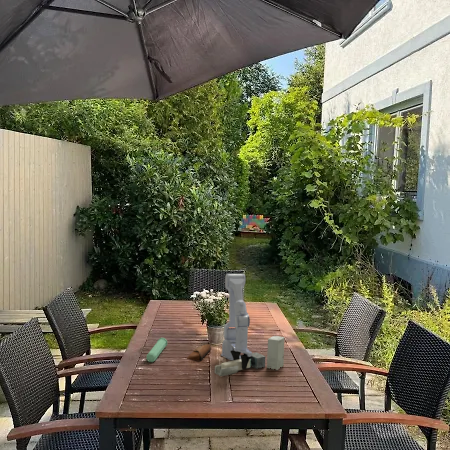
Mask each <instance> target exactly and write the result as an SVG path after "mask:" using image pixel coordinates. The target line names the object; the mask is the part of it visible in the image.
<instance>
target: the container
mask: <svg viewBox="0 0 450 450" xmlns="http://www.w3.org/2000/svg"><path fill="white" fill-rule="evenodd" d="M167 346H168V340H167V339H166V338H165V337H160V338H159V339H157V340H156V343H155V344H154V346H153V347H152V348H151V349H150V351H149V352H148V353H147V354H146V360H147V362H148V363H153V362H154V361H157V358H158V357H159V356H160V355H161V353H162V352H163V351H164V349H165V348H166V347H167Z"/></svg>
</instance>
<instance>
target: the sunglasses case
mask: <svg viewBox="0 0 450 450" xmlns="http://www.w3.org/2000/svg"><path fill="white" fill-rule="evenodd" d="M211 350H212V347H211V345H210V344H208V343H207V344H203V345H200V346H198V347H197V348H194V349H193V351H192V352H191V353H190V354H189V355H188V356H187V357H186V360H192V361H197V362H198V361H200V362H201V361H202V360H203V359H204V358H205V357H206V355H207V354H208V353H209V352H210V351H211Z"/></svg>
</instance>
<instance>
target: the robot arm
mask: <svg viewBox="0 0 450 450" xmlns="http://www.w3.org/2000/svg"><path fill="white" fill-rule="evenodd" d="M246 280H247V279H246V275H245V273H226V274H225V277H224V287H225V290H227V291H228V302H229V303H228V313H229V314H228V319H229V320H228V322H227V323H225V324H224V325H223V335H222V336H223V341H222V345H221V347H222V348H221V354H220V356H222V357H223V358H226V359H227V360H229V361H234V360H239V359H241V361H242V370H246V369H248V368H247V364H248V362H249V360H250V358H251V356H252V353H253V352H252V351H251V350H250V349H249V348H248V335H249V334H248V333H249V327H250V323H251V319H250V315H249V312H248V309H247V304H246V302H245V301H244V299H243V296H244V295H243V289H244V287H245V286H246V285H245V284H246Z"/></svg>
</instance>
